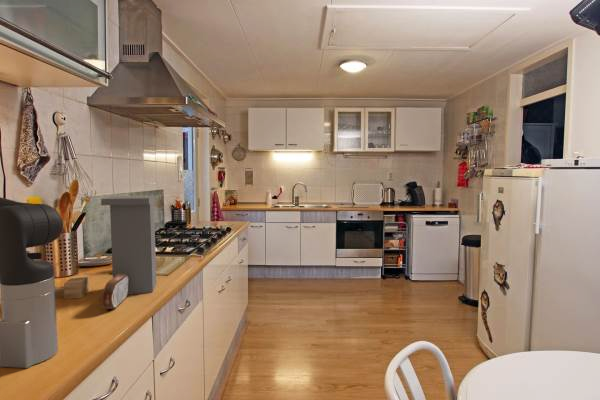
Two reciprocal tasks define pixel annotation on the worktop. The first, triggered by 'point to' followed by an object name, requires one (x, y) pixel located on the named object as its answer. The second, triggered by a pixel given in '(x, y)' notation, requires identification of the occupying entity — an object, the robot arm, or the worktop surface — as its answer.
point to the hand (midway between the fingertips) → (35, 258)
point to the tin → (115, 291)
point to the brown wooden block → (74, 287)
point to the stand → (133, 240)
